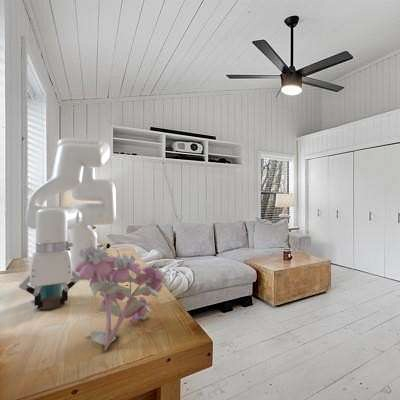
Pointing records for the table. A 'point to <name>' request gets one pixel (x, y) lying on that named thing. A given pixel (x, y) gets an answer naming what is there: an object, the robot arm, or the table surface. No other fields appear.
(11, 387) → the table surface
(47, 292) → the bottle
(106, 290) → the flower
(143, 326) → the table surface
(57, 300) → the brown round puck
